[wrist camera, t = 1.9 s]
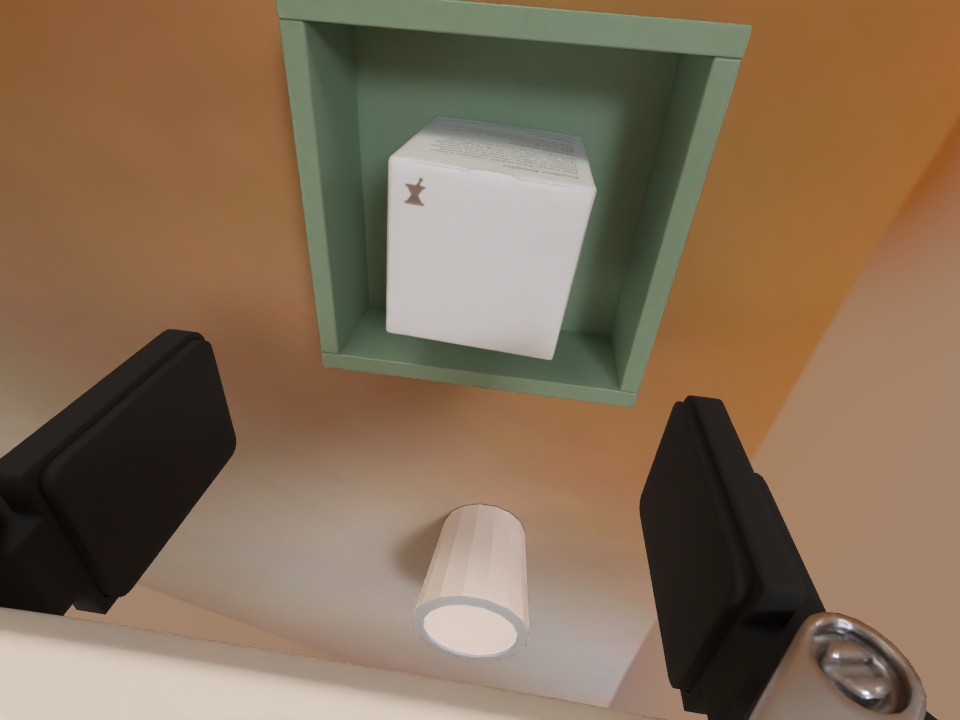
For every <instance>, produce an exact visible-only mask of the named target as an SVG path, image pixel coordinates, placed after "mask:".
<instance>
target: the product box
mask: <svg viewBox="0 0 960 720" xmlns="http://www.w3.org/2000/svg"><path fill="white" fill-rule="evenodd" d="M596 192H597V190H596V186H595V184H594V180H593V176H592V173H591V169H590V165H589V161H588V158H587V155H586V151H585V148H584V145H583V142H582V139H581V138H580V137H577V136H572V135H566V134H561V133H555V132H549V131H543V130H537V129H530V128H524V127H517V126H511V125H504V124H497V123H490V122H483V121H475V120H468V119H461V118H453V117H445V116H436V117H434V118H433V119H432V120H431V121H430V122H429V123H428V124H427V125H425V126H424V127H423V128H422V129H421V130H420V131H419V132H418V133H417V134H415V135H414V136H413V137H412V138H411V139H410V140H409V141H407V142H406V143H405V144H404V145H403V146H402V147H401V148H399V149H398V150H397V151H396V152H395V153H393V154H392V155H391V156H390V158H389V161H388V212H387V288H386V330H387V331H388V332H389V333H394V334H401V335H407V336H413V337H419V338H425V339H430V340H436V341H442V342H447V343H453V344H459V345H465V346H471V347H476V348H482V349H488V350H494V351H500V352H505V353H511V354H517V355H523V356H528V357H534V358H539V359H545V360H552V358H553V355H554V352H555V348H556V345H557V341H558V337H559V333H560V329H561V326H562V322H563V318H564V314H565V310H566V306H567V303H568V299H569V295H570V291H571V287H572V284H573V280H574V276H575V272H576V268H577V264H578V260H579V257H580V253H581V249H582V245H583V241H584V237H585V233H586V229H587V225H588V221H589V217H590V213H591V210H592V206H593V203H594V199H595V197H596Z"/></svg>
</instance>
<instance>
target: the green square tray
mask: <svg viewBox="0 0 960 720" xmlns="http://www.w3.org/2000/svg"><path fill="white" fill-rule="evenodd" d="M276 5H277V13H278V17H279V18H280V21H279V24H280V32H281V40H282V48H283V55H284V63H285V71H286V79H287V87H288V94H289V102H290V110H291V118H292V126H293V133H294V141H295V149H296V157H297V165H298V172H299V180H300V188H301V196H302V204H303V211H304V219H305V227H306V235H307V243H308V250H309V258H310V266H311V274H312V282H313V289H314V297H315V305H316V313H317V321H318V328H319V336H320V344H321V351H322V361H323V367H328V368H336V369H343V370H351V371H359V372H366V373H374V374H381V375H389V376H396V377H404V378H412V379H419V380H427V381H434V382H442V383H450V384H457V385H465V386H472V387H480V388H487V389H495V390H503V391H510V392H518V393H525V394H533V395H540V396H548V397H556V398H563V399H571V400H578V401H586V402H593V403H601V404H609V405H616V406H624V407H631V408H633V407H634V405H635V402H636V399H637V396H638V392H639V389H640V386H641V383H642V379H643V376H644V373H645V370H646V367H647V363H648V360H649V357H650V354H651V351H652V347H653V344H654V341H655V338H656V335H657V331H658V328H659V325H660V322H661V319H662V315H663V312H664V309H665V306H666V302H667V299H668V296H669V293H670V290H671V286H672V283H673V280H674V277H675V274H676V270H677V267H678V264H679V261H680V258H681V254H682V251H683V248H684V245H685V242H686V238H687V235H688V232H689V229H690V226H691V222H692V219H693V216H694V213H695V209H696V206H697V203H698V200H699V197H700V193H701V190H702V187H703V184H704V181H705V177H706V174H707V171H708V168H709V165H710V161H711V158H712V155H713V152H714V149H715V145H716V142H717V139H718V136H719V133H720V129H721V126H722V123H723V120H724V117H725V113H726V110H727V107H728V104H729V100H730V97H731V94H732V91H733V88H734V84H735V81H736V78H737V75H738V72H739V68H740V65H741V59H742V58H743V56H744V53H745V50H746V47H747V44H748V40H749V37H750V34H751V31H752V25H745V24H733V23H721V22H709V21H697V20H685V19H673V18H661V17H649V16H637V15H625V14H613V13H601V12H589V11H577V10H565V9H553V8H541V7H529V6H517V5H505V4H493V3H481V2H469V1H457V0H276ZM436 116H445V117H453V118H461V119H468V120H475V121H483V122H490V123H497V124H504V125H511V126H517V127H524V128H530V129H537V130H543V131H549V132H555V133H561V134H566V135H572V136H577V137H580V138H581V139H582V142H583V145H584V148H585V151H586V155H587V158H588V161H589V165H590V169H591V173H592V176H593V180H594V184H595V186H596V190H597V192H596V197H595V199H594V203H593V206H592V210H591V213H590V217H589V221H588V225H587V229H586V233H585V237H584V241H583V245H582V249H581V253H580V257H579V260H578V264H577V268H576V272H575V276H574V280H573V284H572V287H571V291H570V295H569V299H568V303H567V306H566V310H565V314H564V318H563V322H562V326H561V329H560V333H559V337H558V341H557V345H556V348H555V352H554V355H553V358H552V360H545V359H539V358H534V357H528V356H523V355H517V354H511V353H505V352H500V351H494V350H488V349H482V348H476V347H471V346H465V345H459V344H453V343H447V342H442V341H436V340H430V339H425V338H419V337H413V336H407V335H401V334H394V333H389V332H388V331H387V330H386V288H387V212H388V161H389V158H390V156H391V155H392V154H393V153H395V152H396V151H397V150H398V149H399V148H401V147H402V146H403V145H404V144H405V143H406V142H407V141H409V140H410V139H411V138H412V137H413V136H414V135H415V134H417V133H418V132H419V131H420V130H421V129H422V128H423V127H424V126H425V125H427V124H428V123H429V122H430V121H431V120H432V119H433V118H434V117H436Z"/></svg>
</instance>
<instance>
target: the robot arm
mask: <svg viewBox="0 0 960 720" xmlns="http://www.w3.org/2000/svg"><path fill="white" fill-rule="evenodd" d="M235 447H236V436H235V432H234V429H233V425H232V421H231V417H230V413H229V410H228V406H227V402H226V398H225V394H224V391H223V387H222V383H221V379H220V375H219V372H218V368H217V364H216V360H215V356H214V353H213V349H212V346H211V344H210V343H209V342H208V341H206V340H205V339H204V337H203V336H202V335H201V334H200V333H198V332H191V331H183V330H175V329H168V330H166V331H164V332H162V333H161V334H160V335H159V336H157V337H156V338H155V339H153V340H152V341H151V342H150V343H148V344H147V345H146V346H144V347H143V348H142V349H141V350H139V351H138V352H137V353H135V354H134V355H133V356H132V357H130V358H129V359H128V360H126V361H125V362H124V363H123V364H121V365H120V366H119V367H117V368H116V369H115V370H114V371H112V372H111V373H110V374H109V375H107V376H106V377H105V378H103V379H102V380H101V381H100V382H98V383H97V384H96V385H94V386H93V387H92V388H91V389H89V390H88V391H87V392H85V393H84V394H83V395H82V396H80V397H79V398H78V399H76V400H75V401H74V402H73V403H71V404H70V405H69V406H67V407H66V408H65V409H64V410H62V411H61V412H60V413H59V414H57V415H56V416H55V417H53V418H52V419H51V420H50V421H48V422H47V423H46V424H44V425H43V426H42V427H41V428H39V429H38V430H37V431H35V432H34V433H33V434H32V435H30V436H29V437H28V438H26V439H25V440H24V441H23V442H21V443H20V444H19V445H17V446H16V447H15V448H14V449H12V450H11V451H10V452H9V453H7V454H6V455H5V456H3V457H2V458H1V459H0V720H665V719H660V718H655V717H649V716H644V715H639V714H634V713H628V712H623V711H618V710H613V709H608V708H603V707H597V706H592V705H587V704H582V703H576V702H571V701H566V700H561V699H555V698H549V697H544V696H538V695H532V694H526V693H520V692H515V691H509V690H503V689H497V688H492V687H486V686H480V685H474V684H468V683H463V682H457V681H451V680H445V679H440V678H434V677H428V676H422V675H416V674H411V673H405V672H399V671H393V670H387V669H381V668H375V667H369V666H363V665H358V664H352V663H346V662H340V661H334V660H328V659H322V658H316V657H310V656H303V655H298V654H292V653H286V652H280V651H274V650H268V649H262V648H256V647H250V646H244V645H238V644H232V643H226V642H220V641H214V640H208V639H202V638H195V637H189V636H183V635H177V634H171V633H165V632H158V631H153V630H146V629H140V628H134V627H128V626H122V625H115V624H109V623H103V622H97V621H91V620H85V619H78V618H72V617H66V616H64V614H65V612H66V611H67V610H68V609H69V608H70V607H71V605H72V604H73V605H74V607H75V608H76V609H77V610H82V611H88V612H94V613H100V614H106V613H107V612H108V610H109V609H110V608H111V606H112V605H113V604H114V603H115V601H116V600H117V599H118V597H122V596H125V595H126V594H127V593H129V591H130V590H131V589H132V588H133V587H134V585H135V584H136V583H137V582H138V580H139V579H140V578H141V576H142V575H143V574H144V572H145V571H146V570H147V568H148V567H149V566H150V564H151V563H152V562H153V560H154V559H155V558H156V556H157V555H158V554H159V552H160V551H161V550H162V548H163V547H164V546H165V544H166V543H167V542H168V540H169V539H170V538H171V536H172V535H173V534H174V532H175V531H176V530H177V528H178V527H179V526H180V524H181V523H182V522H183V520H184V519H185V518H186V516H187V515H188V514H189V512H190V511H191V510H192V508H193V507H194V506H195V504H196V503H197V502H198V500H199V499H200V498H201V496H202V495H203V494H204V492H205V491H206V490H207V488H208V487H209V486H210V484H211V483H212V482H213V480H214V479H215V478H216V476H217V475H218V474H219V472H220V471H221V470H222V468H223V467H224V466H225V464H226V463H227V462H228V460H229V459H230V458H231V456H232V455H233V453H234V451H235ZM640 518H641V523H642V529H643V535H644V540H645V546H646V552H647V558H648V563H649V569H650V575H651V581H652V586H653V592H654V598H655V603H656V609H657V615H658V621H659V626H660V632H661V638H662V643H663V649H664V655H665V661H666V666H667V672H668V677H669V681H670V683H671V686H672V687H673V688H676V689H680V691H681V696H682V701H683V706H684V711H689V712H694V713H700V714H706V715H707V716H708V720H937V719H936V718H934V717H933V716H932V715H931V714H930V713H928V712H927V711H926V695H925V692H924V688H923V686H922V683H921V680H920V678H919V676H918V674H917V673H916V671H915V670H914V668H913V667H912V665H911V663H910V662H909V660H908V659H907V658H906V657H905V656H904V655H903V654H902V653H901V652H900V651H899V649H898V648H897V647H896V646H895V645H894V644H893V643H892V642H890V641H889V640H888V639H887V638H885V637H884V636H883V635H882V634H880V633H879V632H878V631H876V630H875V629H874V628H871V627H870V626H868V625H866V624H865V623H863V622H861V621H859V620H857V619H855V618H852V617H849V616H846V615H843V614H840V613H832V612H826V611H825V608H824V606H823V604H822V602H821V600H820V598H819V595H818V593H817V591H816V589H815V587H814V585H813V583H812V580H811V578H810V576H809V574H808V572H807V570H806V568H805V565H804V563H803V561H802V559H801V557H800V554H799V552H798V550H797V548H796V546H795V544H794V542H793V539H792V538H791V535H790V533H789V531H788V529H787V526H786V524H785V522H784V520H783V518H782V516H781V514H780V511H779V509H778V507H777V505H776V503H775V501H774V498H773V496H772V494H771V492H770V490H769V488H768V486H767V484H766V482H765V480H764V479H763V477H762V476H760V475H759V474H757V473H754V471H753V469H752V467H751V464H750V462H749V460H748V458H747V455H746V453H745V451H744V449H743V446H742V444H741V442H740V440H739V438H738V435H737V433H736V431H735V429H734V426H733V424H732V422H731V420H730V417H729V415H728V413H727V411H726V408H725V406H724V404H723V402H722V401H721V400H719V399H715V398H707V397H699V396H691V395H690V396H687V397H686V399H685V400H684V402H679V401H678V402H676V403H675V404H674V406H673V409H672V411H671V414H670V417H669V420H668V423H667V425H666V428H665V431H664V434H663V436H662V439H661V442H660V445H659V448H658V450H657V453H656V456H655V459H654V461H653V464H652V467H651V470H650V472H649V475H648V478H647V481H646V484H645V486H644V489H643V492H642V495H641V499H640Z"/></svg>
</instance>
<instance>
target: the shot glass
mask: <svg viewBox="0 0 960 720" xmlns="http://www.w3.org/2000/svg"><path fill="white" fill-rule="evenodd" d="M413 627H414V629H415V630H416V632H417V633H418V635H419V636H420V638H421V639H422V640H424V641H425V642H427V643H428V644H430V645H431V646H432V647H434V648H435V649H437V650H440V651H442V652H445V653H447V654H450V655H452V656H455V657H460V658H466V659H472V660H499V659H502V658H506V657H509V656H512V655H515V654H517V653H518V652H519V651H520V650H522V649H523V648H524V647H525V646H526V645H527V641H528V637H529V616H528V593H527V571H526V549H525V532H524V530H523V527H522V525H521V522H519V521H518V520H517V519H516V518H515V517H514V516H513V515H512V514H511V513H509V512H507V511H504V510H502V509H500V508H498V507H495V506H488V505H482V504H476V505H468V506H463V507H461V508H459V509H456V510H454V511H452V512H451V513H450V515H449V516H448V517H447V519H446V520H445V522H444V525H443V528H442V531H441V534H440V537H439V540H438V543H437V546H436V549H435V552H434V555H433V557H432V560H431V563H430V566H429V569H428V572H427V575H426V578H425V581H424V584H423V587H422V590H421V593H420V596H419V599H418V602H417V605H416V607H415V610H414V613H413Z"/></svg>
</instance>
